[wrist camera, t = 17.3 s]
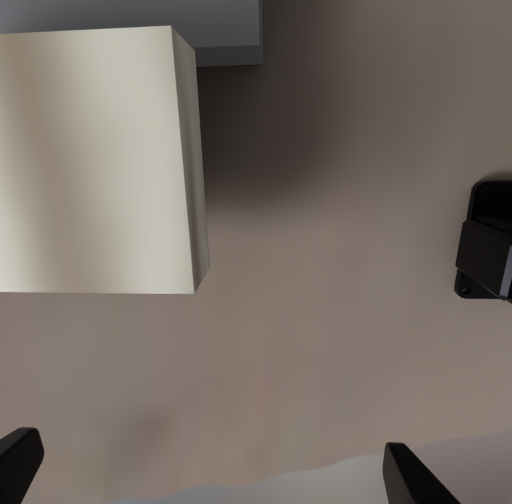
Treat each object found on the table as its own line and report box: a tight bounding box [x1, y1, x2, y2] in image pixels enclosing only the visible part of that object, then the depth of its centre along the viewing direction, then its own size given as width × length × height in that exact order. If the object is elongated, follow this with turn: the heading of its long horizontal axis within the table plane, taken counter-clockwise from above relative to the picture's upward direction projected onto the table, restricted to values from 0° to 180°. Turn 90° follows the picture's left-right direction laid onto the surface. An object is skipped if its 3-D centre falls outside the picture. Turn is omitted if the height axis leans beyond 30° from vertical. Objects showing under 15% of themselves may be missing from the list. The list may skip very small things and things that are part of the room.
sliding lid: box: [0, 26, 210, 294], centre depth 13 cm, size 9×9×3 cm
